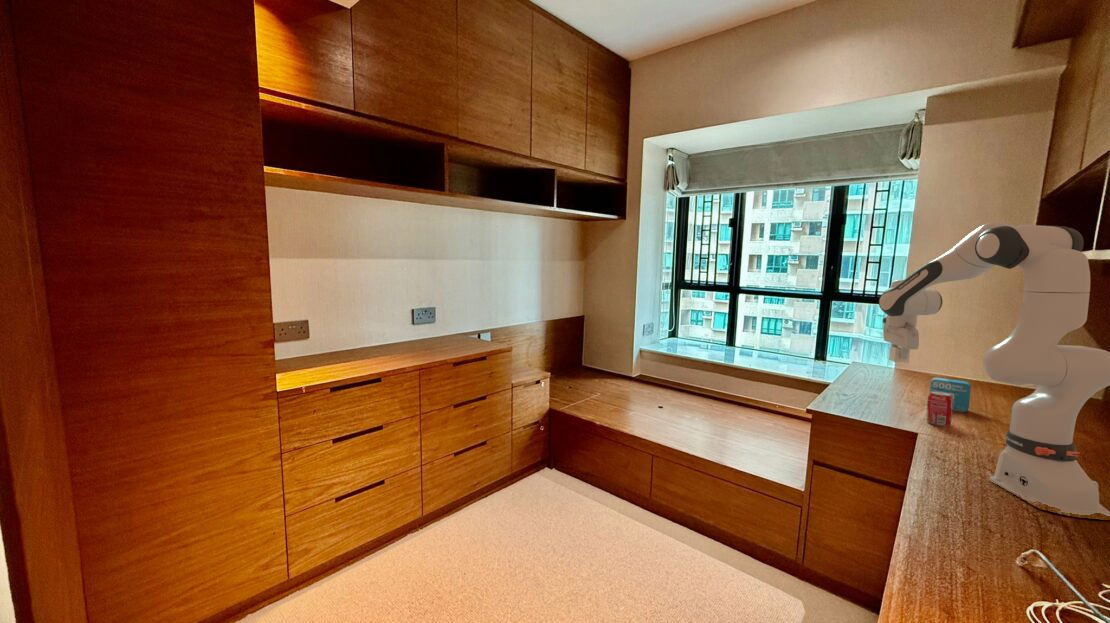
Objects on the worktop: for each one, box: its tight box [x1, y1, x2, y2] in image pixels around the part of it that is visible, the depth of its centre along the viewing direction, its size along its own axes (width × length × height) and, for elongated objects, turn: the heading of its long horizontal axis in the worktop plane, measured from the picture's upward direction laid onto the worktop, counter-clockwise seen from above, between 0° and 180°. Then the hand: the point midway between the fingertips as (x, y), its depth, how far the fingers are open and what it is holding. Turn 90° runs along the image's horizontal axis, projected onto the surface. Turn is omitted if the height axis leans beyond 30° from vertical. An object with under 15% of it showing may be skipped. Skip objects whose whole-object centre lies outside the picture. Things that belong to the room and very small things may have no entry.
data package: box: [929, 377, 972, 413], centre depth 175 cm, size 12×4×12 cm, turn 43°
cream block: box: [888, 346, 911, 364], centre depth 163 cm, size 5×5×5 cm
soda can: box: [925, 391, 953, 427], centre depth 159 cm, size 7×7×12 cm
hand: (899, 356), depth 163 cm, fingers closed on cream block, 5 cm apart
